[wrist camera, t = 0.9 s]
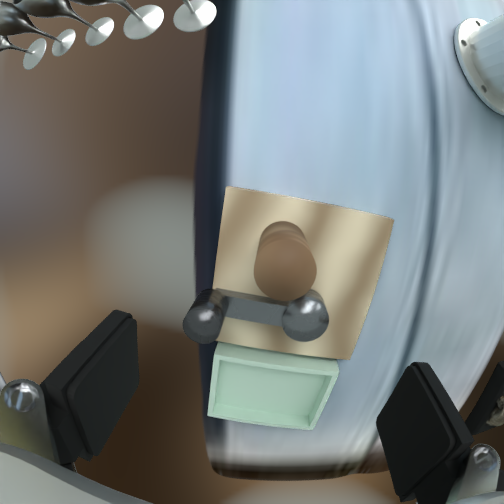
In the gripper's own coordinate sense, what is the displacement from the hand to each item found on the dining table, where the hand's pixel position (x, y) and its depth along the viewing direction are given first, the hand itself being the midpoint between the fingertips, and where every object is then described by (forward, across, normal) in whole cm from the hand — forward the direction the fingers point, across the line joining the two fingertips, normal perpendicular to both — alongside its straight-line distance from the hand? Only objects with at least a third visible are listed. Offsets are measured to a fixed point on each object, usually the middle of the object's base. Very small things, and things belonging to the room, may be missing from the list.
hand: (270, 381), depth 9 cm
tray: (+19, -3, +17) cm, 25 cm away
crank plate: (+19, -3, +3) cm, 19 cm away
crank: (+17, 0, +5) cm, 18 cm away
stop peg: (+17, -1, 0) cm, 17 cm away
